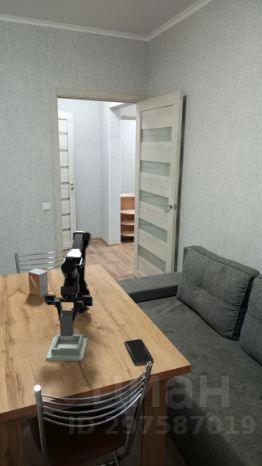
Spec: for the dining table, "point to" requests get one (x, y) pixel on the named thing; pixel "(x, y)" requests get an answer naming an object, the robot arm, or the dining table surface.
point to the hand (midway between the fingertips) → (66, 321)
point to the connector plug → (66, 325)
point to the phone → (138, 351)
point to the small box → (38, 282)
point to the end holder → (67, 349)
